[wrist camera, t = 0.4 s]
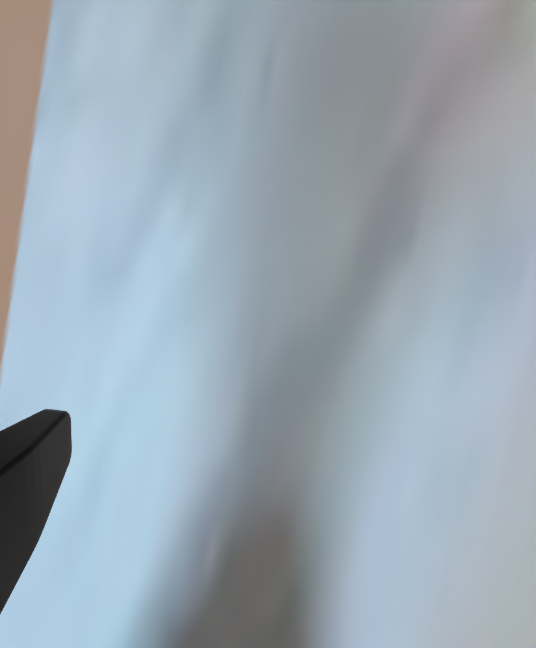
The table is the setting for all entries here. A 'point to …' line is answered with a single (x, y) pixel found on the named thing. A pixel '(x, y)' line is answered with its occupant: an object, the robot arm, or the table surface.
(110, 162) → the table surface
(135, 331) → the table surface
